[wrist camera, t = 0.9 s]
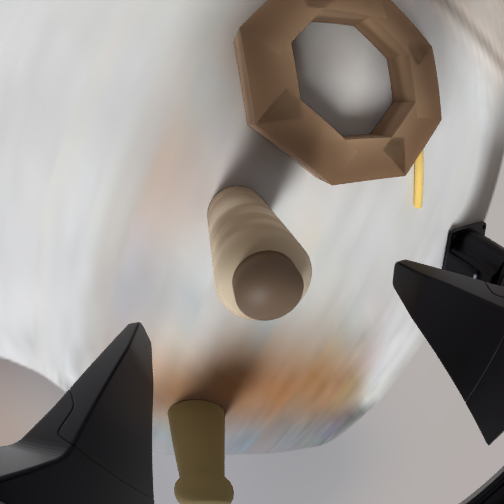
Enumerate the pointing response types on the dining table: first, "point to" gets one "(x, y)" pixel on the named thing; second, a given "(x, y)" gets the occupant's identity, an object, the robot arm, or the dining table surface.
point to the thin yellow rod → (418, 181)
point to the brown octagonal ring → (311, 124)
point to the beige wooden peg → (254, 257)
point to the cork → (199, 452)
